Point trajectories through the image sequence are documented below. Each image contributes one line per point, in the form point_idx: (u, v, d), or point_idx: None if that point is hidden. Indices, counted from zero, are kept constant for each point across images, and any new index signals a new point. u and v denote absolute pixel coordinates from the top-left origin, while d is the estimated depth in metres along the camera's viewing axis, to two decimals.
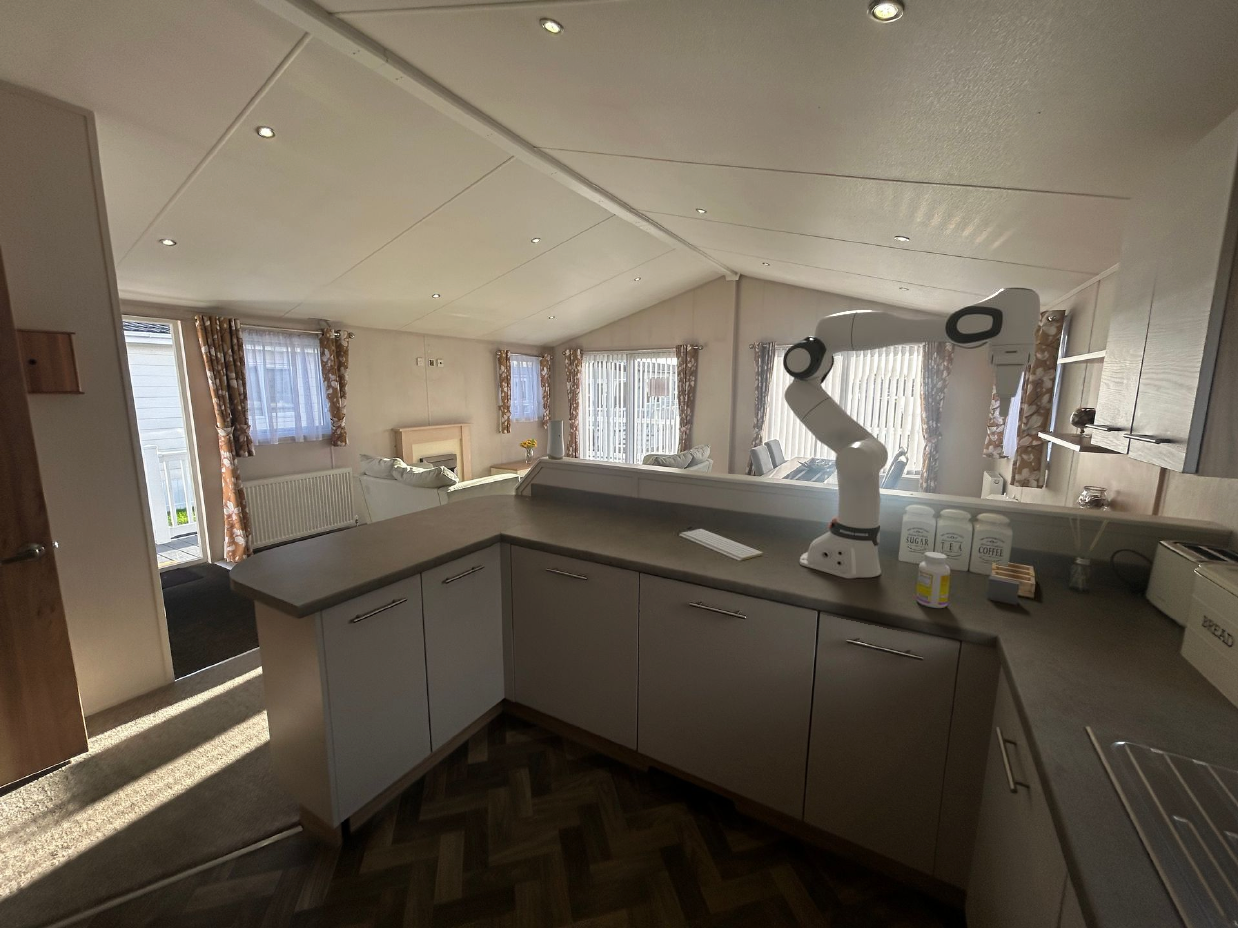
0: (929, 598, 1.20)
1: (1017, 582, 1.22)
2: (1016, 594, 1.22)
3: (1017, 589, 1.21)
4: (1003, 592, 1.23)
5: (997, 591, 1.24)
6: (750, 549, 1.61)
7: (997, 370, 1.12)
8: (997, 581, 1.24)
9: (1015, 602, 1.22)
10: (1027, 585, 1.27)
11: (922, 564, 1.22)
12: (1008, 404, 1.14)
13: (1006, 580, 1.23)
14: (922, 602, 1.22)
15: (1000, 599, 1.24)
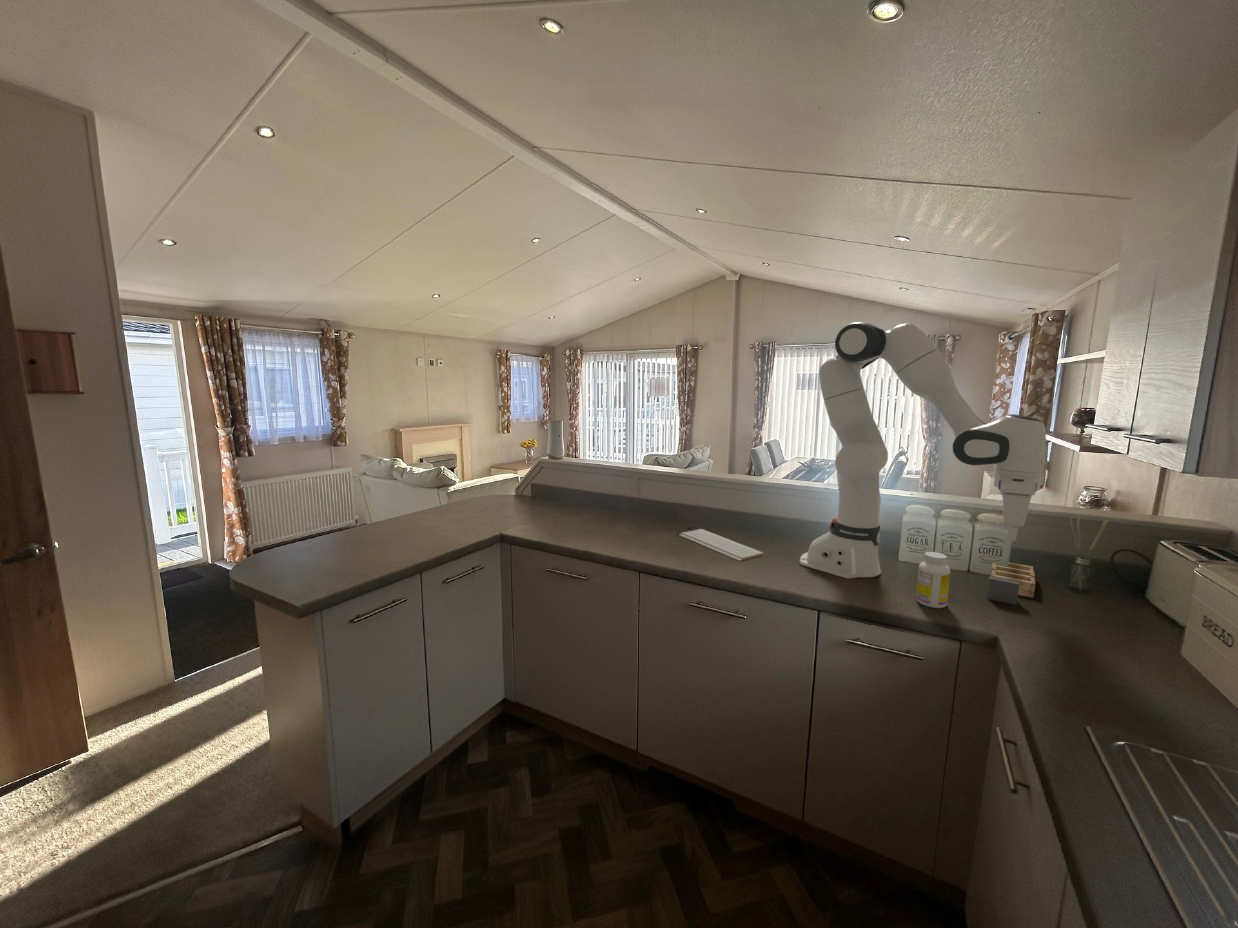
0: (929, 598, 1.20)
1: (1017, 582, 1.22)
2: (1016, 594, 1.22)
3: (1017, 589, 1.21)
4: (1003, 592, 1.23)
5: (997, 591, 1.24)
6: (750, 549, 1.61)
7: (1005, 499, 1.14)
8: (997, 581, 1.24)
9: (1015, 602, 1.22)
10: (1027, 585, 1.27)
11: (922, 564, 1.22)
12: (1016, 530, 1.16)
13: (1006, 580, 1.23)
14: (922, 602, 1.22)
15: (1000, 599, 1.24)
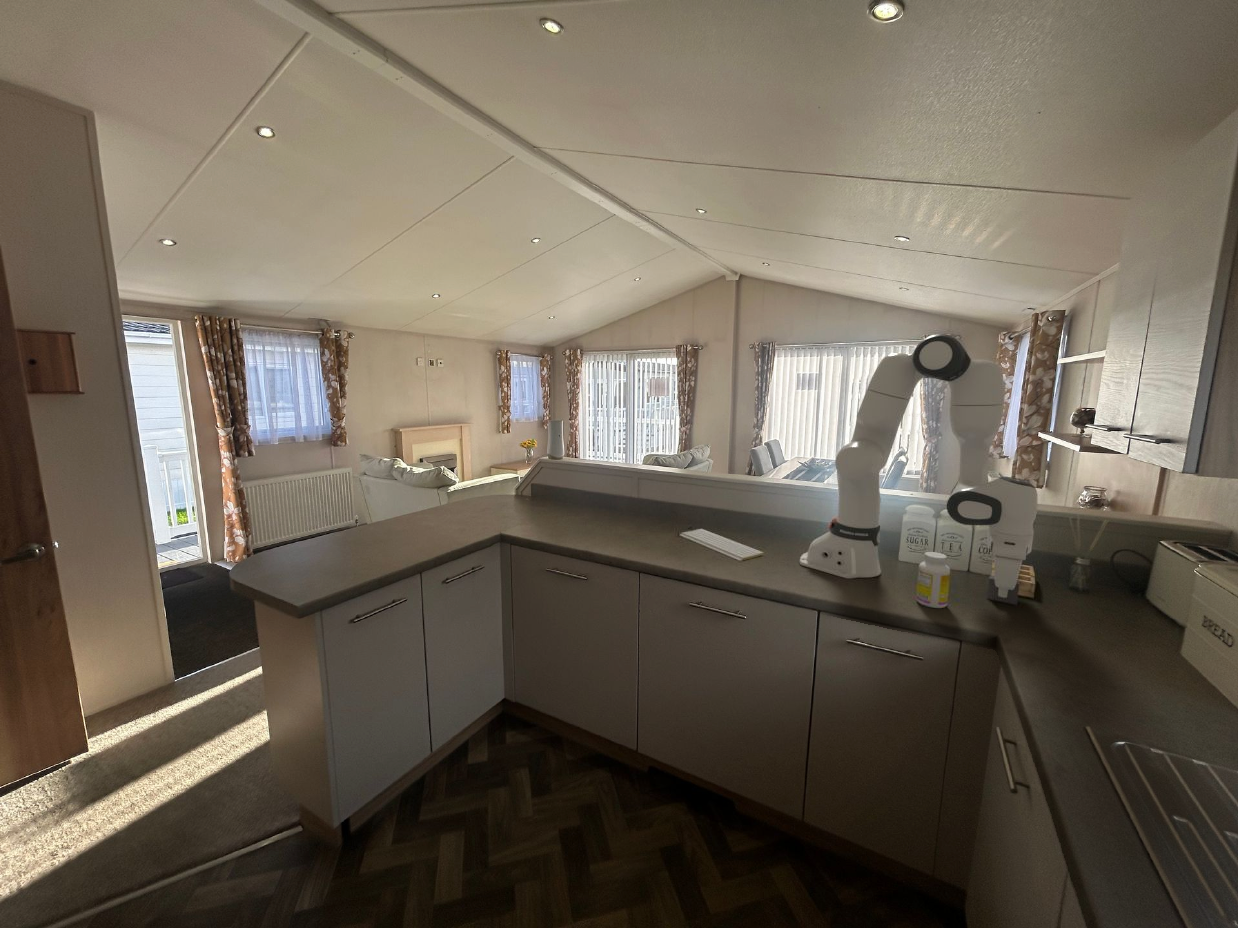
0: (929, 598, 1.20)
1: (1017, 582, 1.22)
2: (1016, 594, 1.22)
3: (1017, 589, 1.21)
4: None
5: (997, 591, 1.24)
6: (750, 549, 1.61)
7: (996, 562, 1.17)
8: None
9: (1015, 602, 1.22)
10: (1027, 585, 1.27)
11: (922, 564, 1.22)
12: None
13: None
14: (922, 602, 1.22)
15: (1000, 599, 1.24)
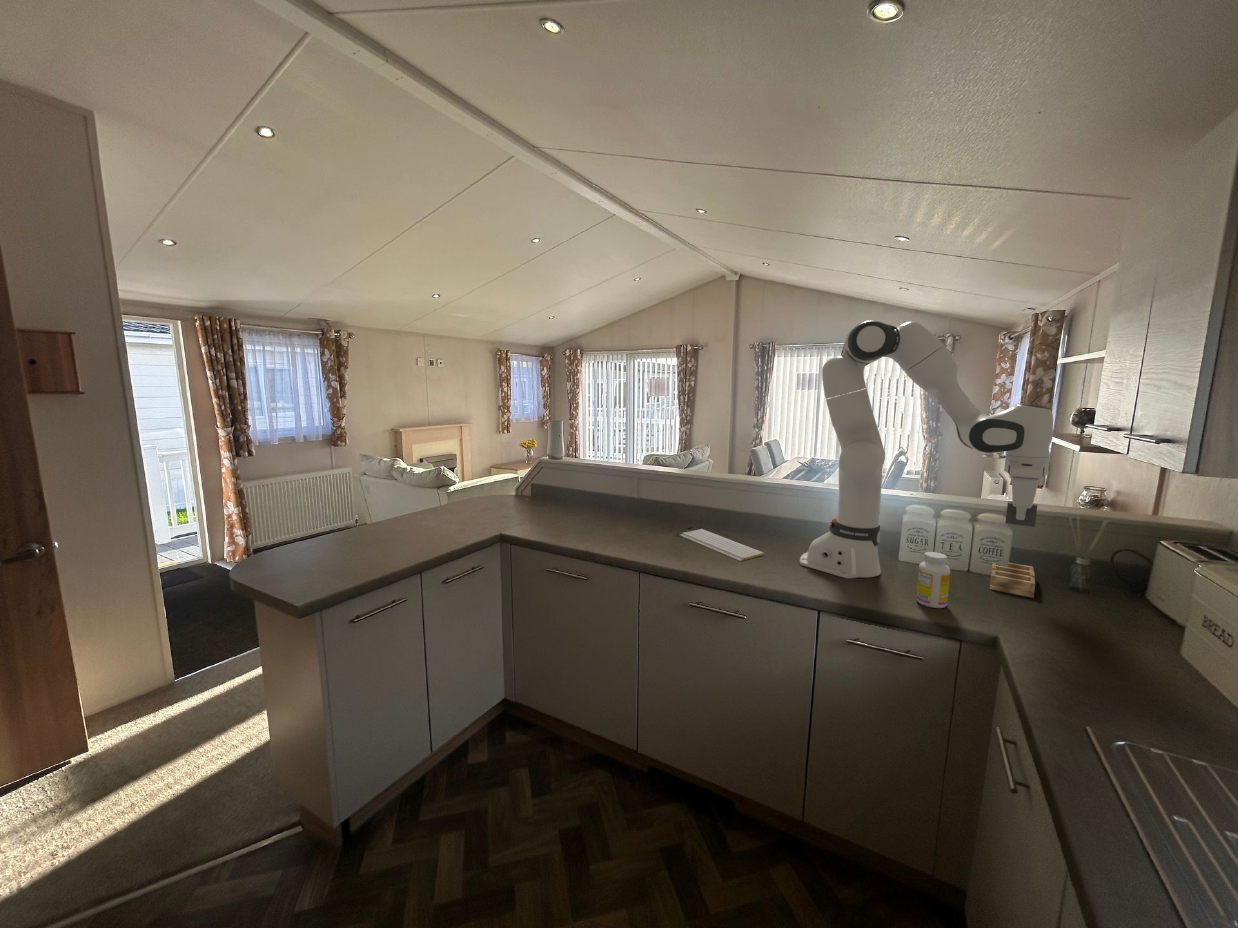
0: (929, 598, 1.20)
1: (1035, 505, 1.27)
2: (1034, 516, 1.26)
3: (1035, 511, 1.26)
4: None
5: (1015, 515, 1.28)
6: (750, 550, 1.61)
7: (1014, 482, 1.21)
8: None
9: (1033, 524, 1.26)
10: (1027, 585, 1.27)
11: (922, 564, 1.22)
12: (1024, 509, 1.25)
13: None
14: (922, 602, 1.22)
15: (1018, 522, 1.28)
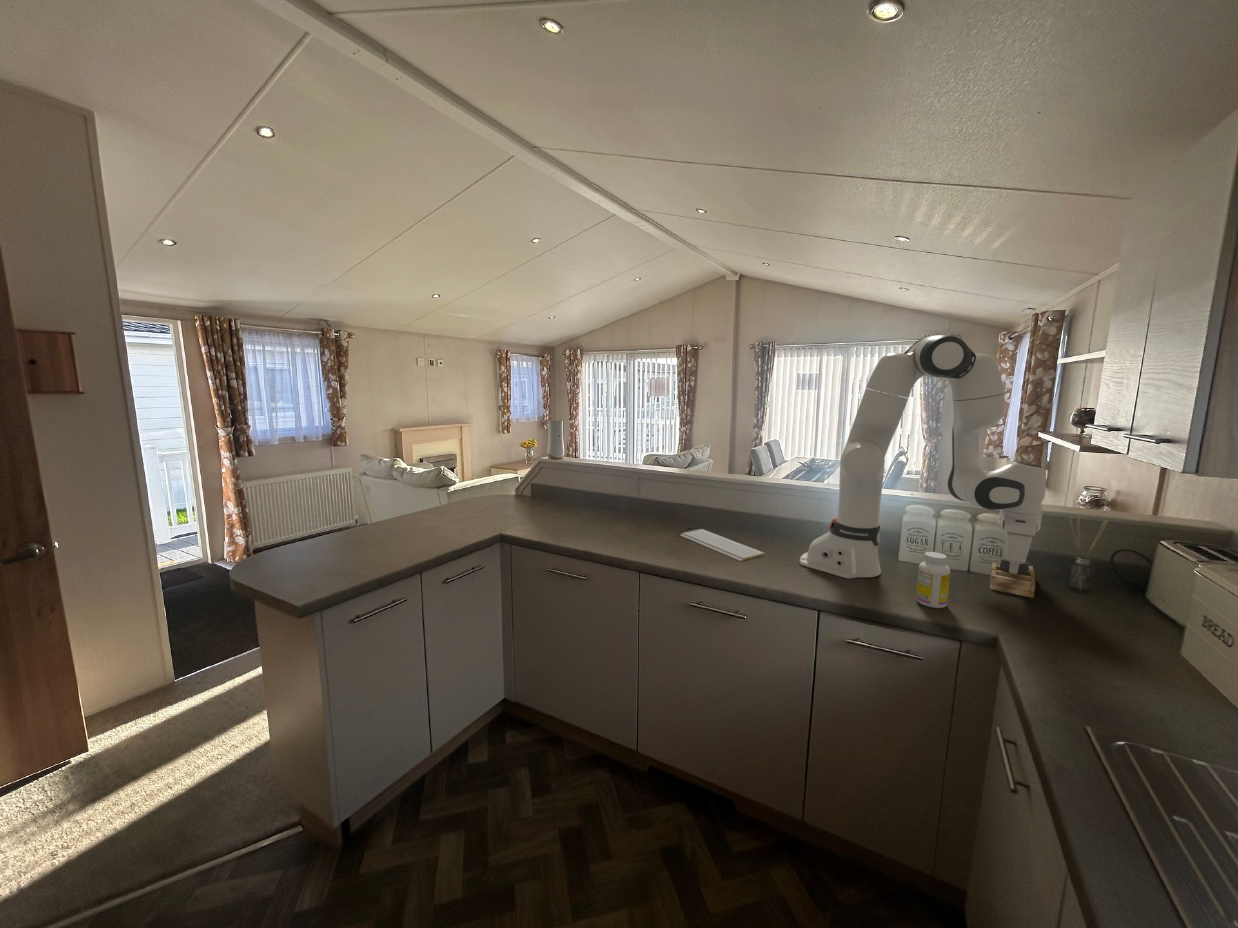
0: (929, 598, 1.20)
1: (1027, 562, 1.32)
2: (1026, 573, 1.32)
3: (1027, 569, 1.31)
4: None
5: (1008, 571, 1.34)
6: (751, 550, 1.61)
7: (1008, 538, 1.27)
8: (1008, 562, 1.34)
9: None
10: (1027, 585, 1.27)
11: (922, 564, 1.22)
12: (1017, 564, 1.30)
13: None
14: (922, 602, 1.22)
15: None
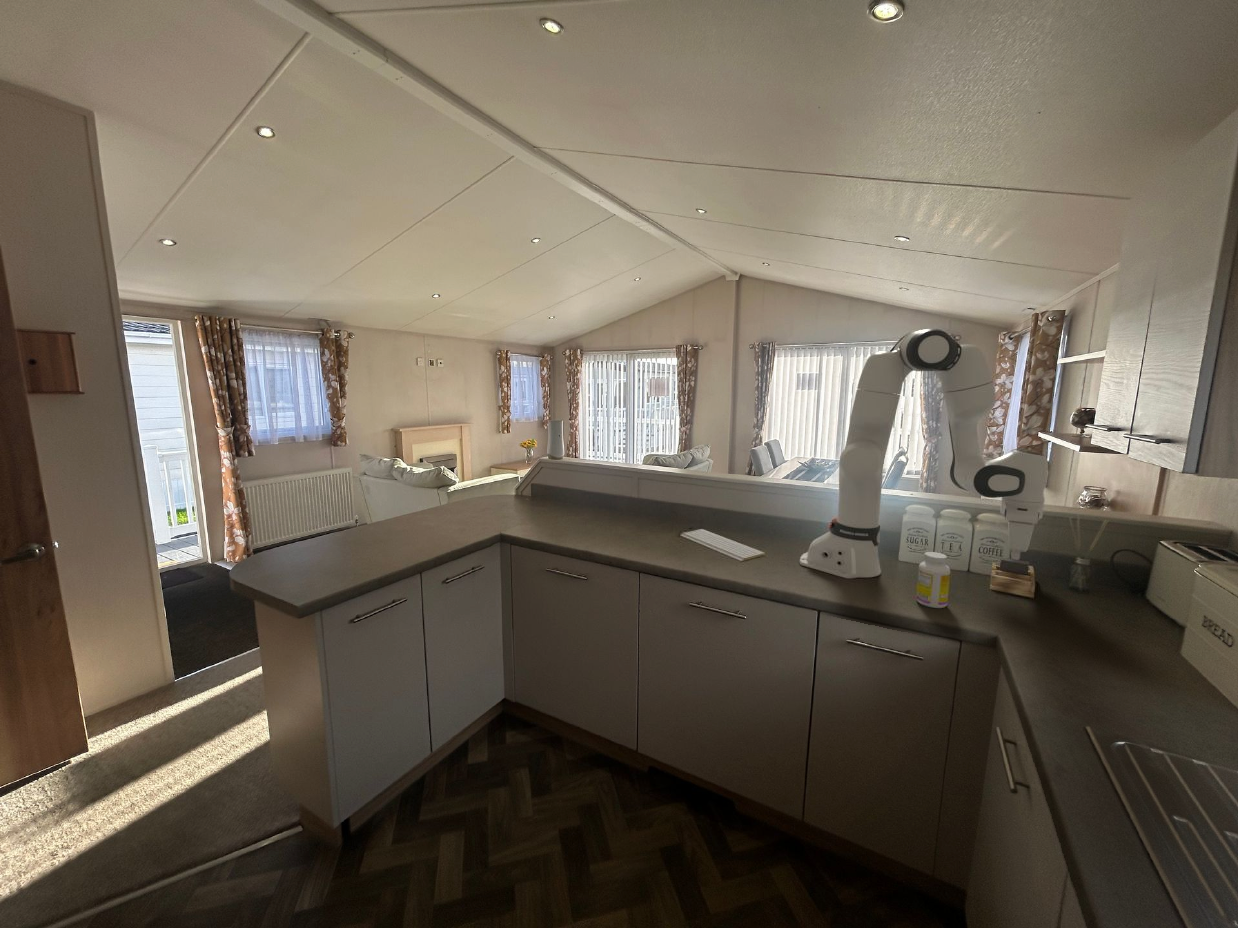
0: (929, 598, 1.20)
1: (1027, 562, 1.32)
2: (1026, 573, 1.32)
3: (1027, 569, 1.31)
4: (1014, 572, 1.33)
5: (1008, 571, 1.34)
6: (751, 550, 1.61)
7: (1010, 526, 1.26)
8: (1008, 562, 1.34)
9: None
10: (1027, 585, 1.27)
11: (922, 564, 1.22)
12: None
13: (1017, 561, 1.33)
14: (922, 602, 1.22)
15: None
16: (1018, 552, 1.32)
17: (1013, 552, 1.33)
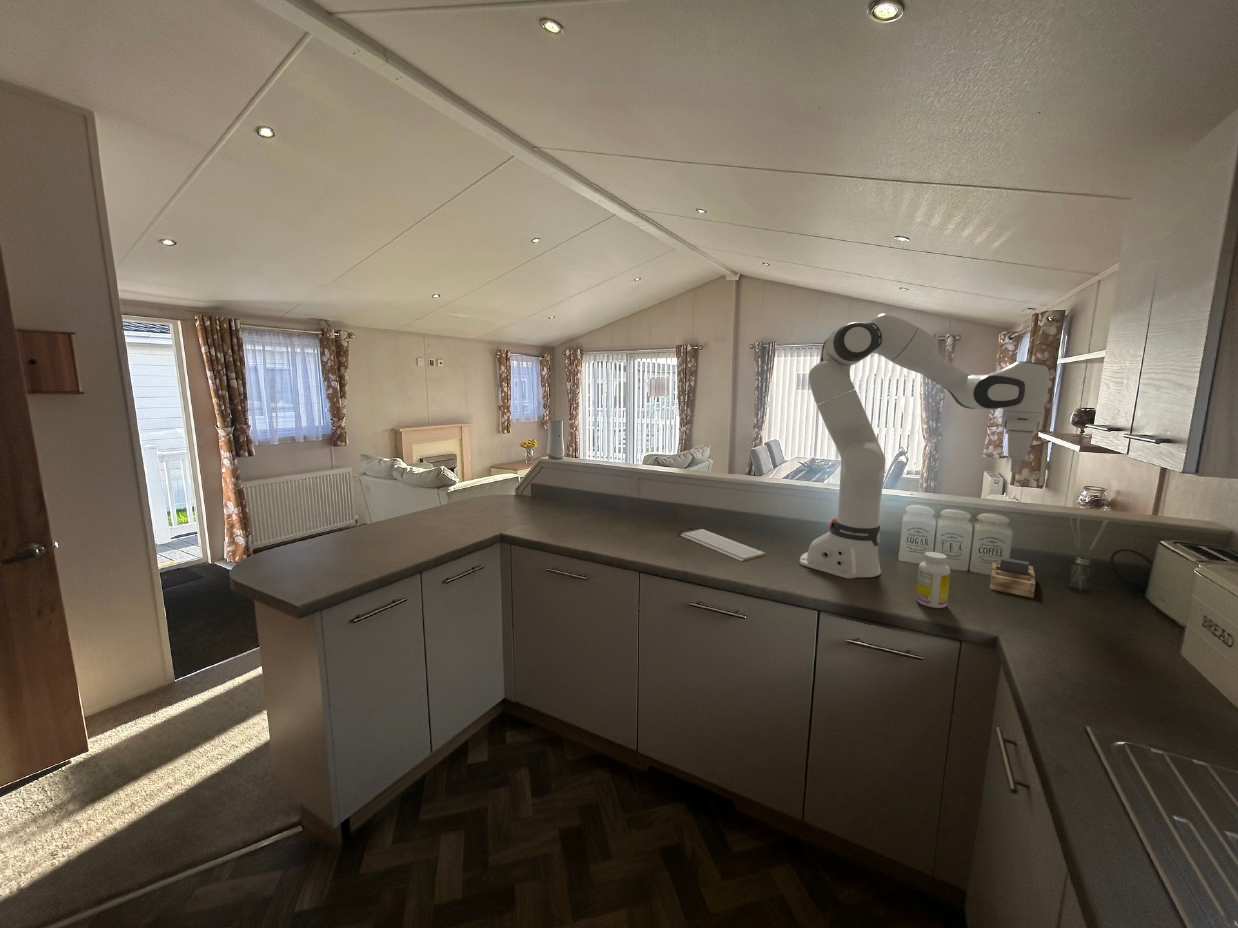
0: (929, 598, 1.20)
1: (1027, 562, 1.32)
2: (1026, 573, 1.32)
3: (1027, 569, 1.31)
4: (1014, 572, 1.33)
5: (1008, 571, 1.34)
6: (751, 550, 1.61)
7: (1010, 435, 1.28)
8: (1008, 562, 1.34)
9: None
10: (1027, 585, 1.27)
11: (922, 564, 1.22)
12: (1019, 462, 1.33)
13: (1017, 561, 1.33)
14: (922, 602, 1.22)
15: None
16: (1017, 465, 1.34)
17: (1012, 465, 1.34)
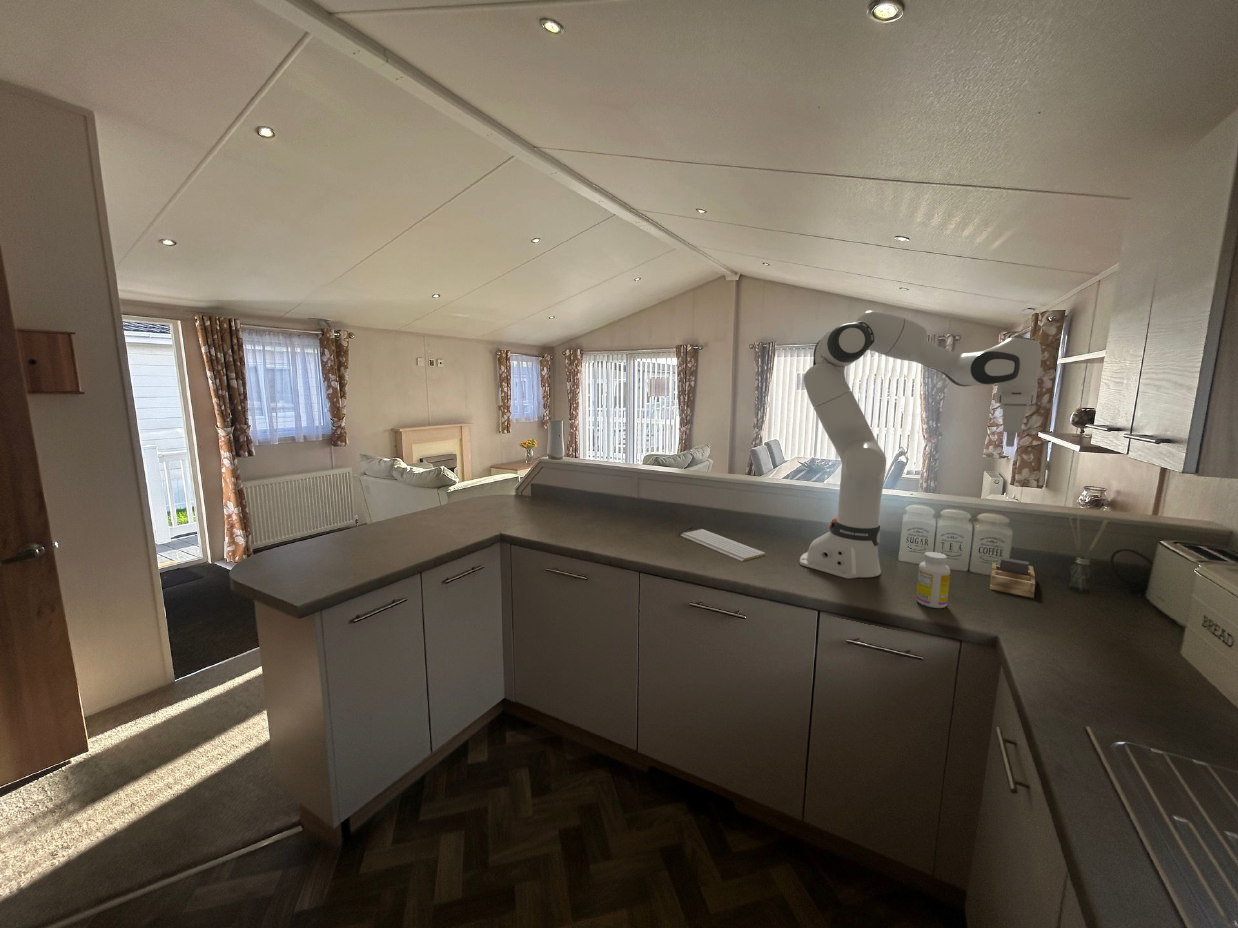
0: (929, 598, 1.20)
1: (1027, 562, 1.32)
2: (1026, 573, 1.32)
3: (1027, 569, 1.31)
4: (1014, 572, 1.33)
5: (1008, 571, 1.34)
6: (752, 550, 1.60)
7: (1004, 409, 1.31)
8: (1008, 562, 1.34)
9: None
10: (1027, 585, 1.27)
11: (922, 564, 1.22)
12: (1014, 436, 1.36)
13: (1017, 561, 1.33)
14: (922, 602, 1.22)
15: None
16: (1012, 439, 1.36)
17: (1007, 439, 1.37)
